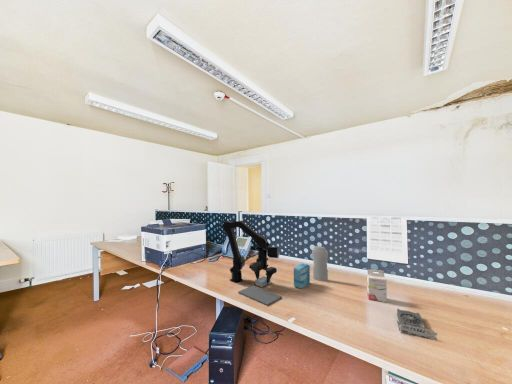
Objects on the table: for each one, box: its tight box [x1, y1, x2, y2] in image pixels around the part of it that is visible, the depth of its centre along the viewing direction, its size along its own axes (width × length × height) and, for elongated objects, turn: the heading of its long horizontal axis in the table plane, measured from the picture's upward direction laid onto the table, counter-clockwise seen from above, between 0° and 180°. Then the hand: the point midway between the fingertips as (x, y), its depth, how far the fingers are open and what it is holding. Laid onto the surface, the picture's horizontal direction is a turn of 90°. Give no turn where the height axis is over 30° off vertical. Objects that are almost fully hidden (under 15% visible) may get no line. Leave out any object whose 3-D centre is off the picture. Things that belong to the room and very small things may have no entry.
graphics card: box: [396, 308, 438, 341], centre depth 92 cm, size 17×4×12 cm
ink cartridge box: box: [366, 269, 388, 303], centre depth 116 cm, size 9×5×15 cm, turn 71°
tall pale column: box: [311, 245, 329, 282], centre depth 144 cm, size 11×4×22 cm, turn 55°
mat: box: [237, 285, 283, 307], centre depth 122 cm, size 22×12×1 cm, turn 46°
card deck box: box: [254, 275, 271, 288], centre depth 139 cm, size 6×8×3 cm, turn 138°
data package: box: [293, 263, 311, 289], centre depth 135 cm, size 12×4×12 cm, turn 138°
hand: (262, 281), depth 139 cm, fingers open, 8 cm apart
